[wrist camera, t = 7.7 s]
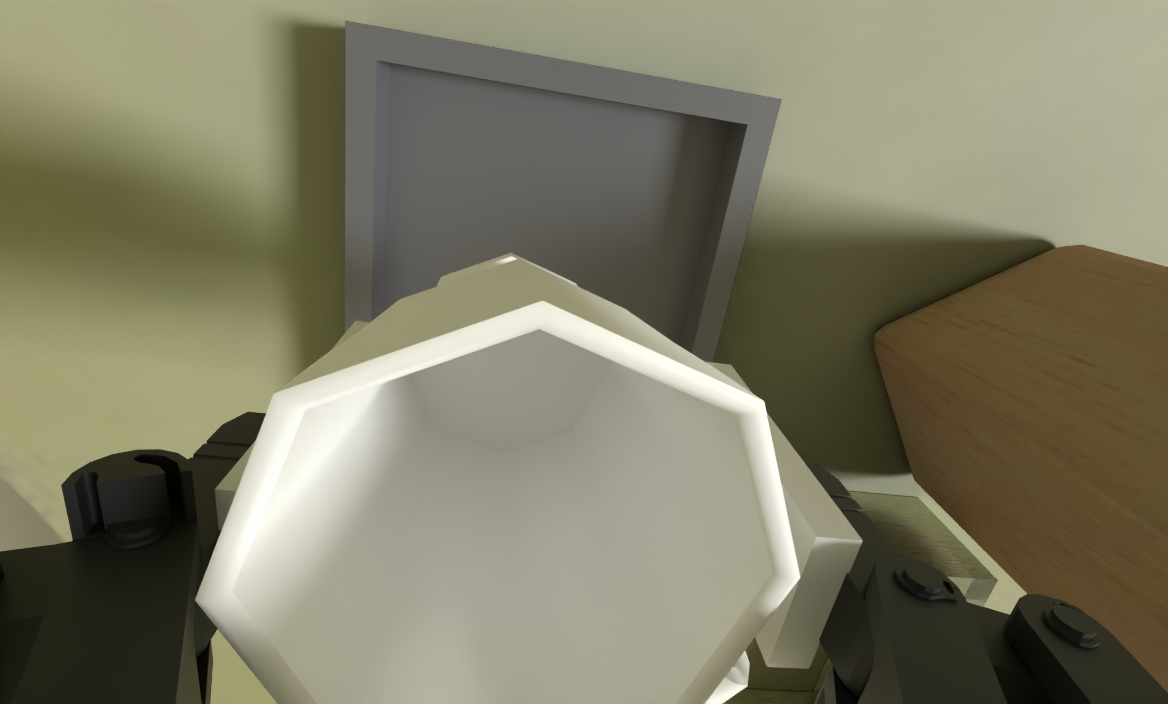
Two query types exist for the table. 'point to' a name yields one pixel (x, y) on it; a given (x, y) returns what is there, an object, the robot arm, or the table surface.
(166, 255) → the table surface
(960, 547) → the bay
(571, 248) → the tray
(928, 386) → the wooden block
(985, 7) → the table surface
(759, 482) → the cup
